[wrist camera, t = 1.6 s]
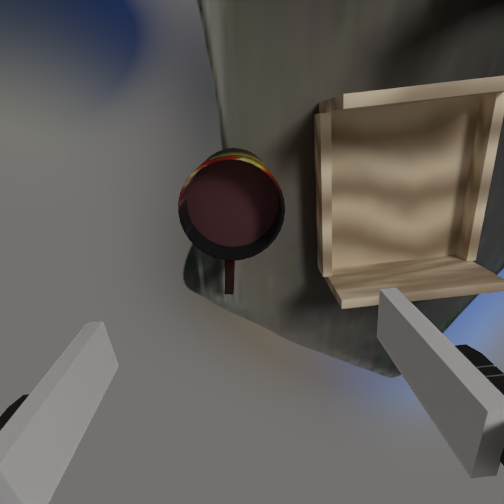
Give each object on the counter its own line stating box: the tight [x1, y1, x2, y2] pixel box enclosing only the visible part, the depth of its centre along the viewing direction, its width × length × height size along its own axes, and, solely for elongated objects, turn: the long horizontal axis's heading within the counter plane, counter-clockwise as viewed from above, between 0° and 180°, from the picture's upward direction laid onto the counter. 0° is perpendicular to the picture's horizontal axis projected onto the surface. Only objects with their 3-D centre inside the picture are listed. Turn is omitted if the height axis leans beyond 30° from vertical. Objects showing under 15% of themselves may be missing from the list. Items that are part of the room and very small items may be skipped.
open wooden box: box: [314, 76, 504, 309], centre depth 35 cm, size 22×20×9 cm
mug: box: [178, 148, 285, 294], centre depth 33 cm, size 10×14×12 cm
